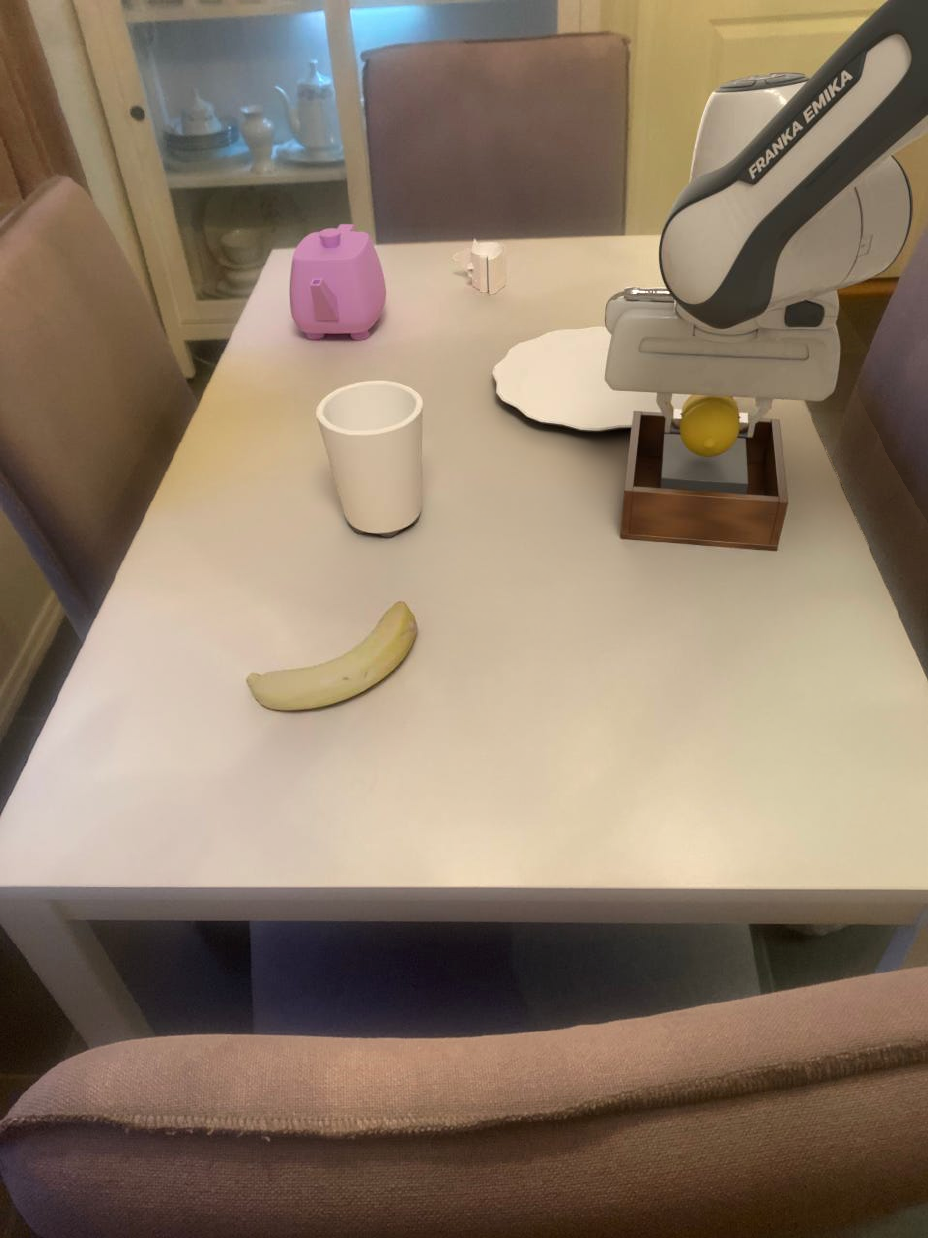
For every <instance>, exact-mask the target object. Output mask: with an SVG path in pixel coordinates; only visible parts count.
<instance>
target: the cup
mask: <svg viewBox="0 0 928 1238" xmlns="http://www.w3.org/2000/svg"><path fill="white" fill-rule="evenodd" d="M315 411H316V413H315V417H316V420H317V421H316V422H317V424H318V427H319V431H320V434H321V438H322V442H323V446H324V449H325V452H326V455H327V458H328V459H327V460H328V463H329V465H330V469H331V473H332V476H333V480H334V483H335V485H336V486H335V487H336V490H337V493H338V497H339V500H340V503H341V507H342V511H343V514H344V517H345V519H346V521H347V522H348V524H349V526H350V527H351V528H352V530H353V531H355V533H357V534H366V533H368V534H373V535H374V534H375V535H379V536H381V537H384V538H388V539H389V538H393V537H394V536H395V535H397V534H398V533H399V532H401V531H403V529H405V528H407V527H409V526H412V525H415V524H417V523H418V521H419V519H420V516H421V510H422V478H423V477H422V475H423V472H422V471H423V470H422V469H423V464H422V463H423V417H424V415H423V414H424V413H423V411H424V403H423V397H422V396H421V395H420V393H419V392H417V391H416V390H415V389H413V388H412V387H410V386H408V385H405V384H402V383H399V382H395V381H390V380H367V381H360V382H359V381H358V382H356V383H350V384H347V385H344V386H342V387H337V389H335V390H334V391H332V392H329V394H327V395H326V396H325V397H324V398H323V399H321V400H320V402H319V404H318V405H317V407H316V410H315Z"/></svg>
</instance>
